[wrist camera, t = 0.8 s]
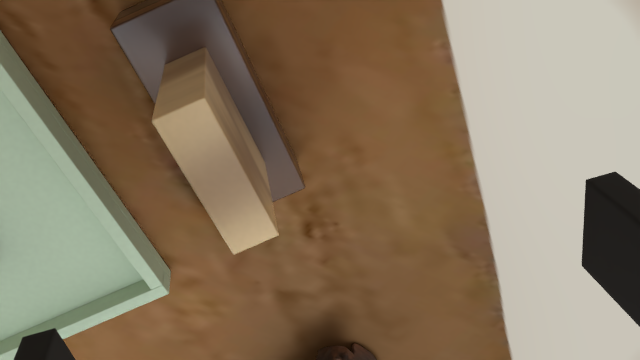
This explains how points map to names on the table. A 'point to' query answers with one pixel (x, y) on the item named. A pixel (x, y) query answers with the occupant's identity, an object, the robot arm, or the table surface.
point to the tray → (60, 224)
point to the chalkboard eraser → (212, 113)
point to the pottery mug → (344, 353)
